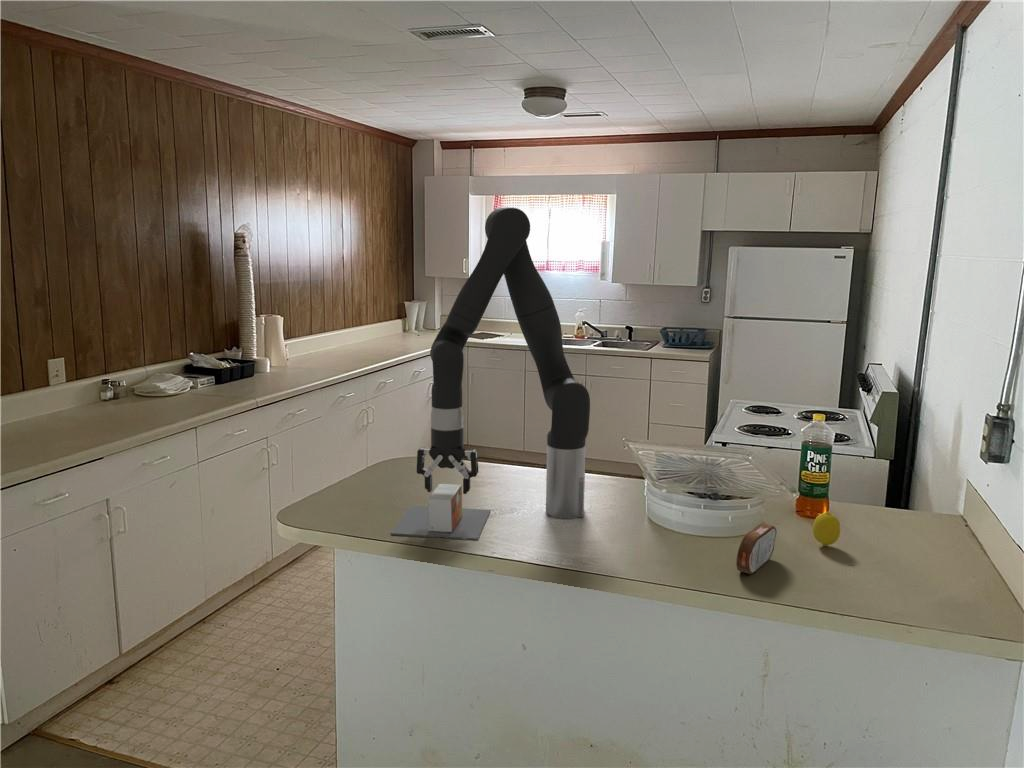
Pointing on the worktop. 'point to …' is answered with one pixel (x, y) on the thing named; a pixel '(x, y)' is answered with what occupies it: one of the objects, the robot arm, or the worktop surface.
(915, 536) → the worktop surface
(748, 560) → the tin
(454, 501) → the small box
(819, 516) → the lemon
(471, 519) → the mat
